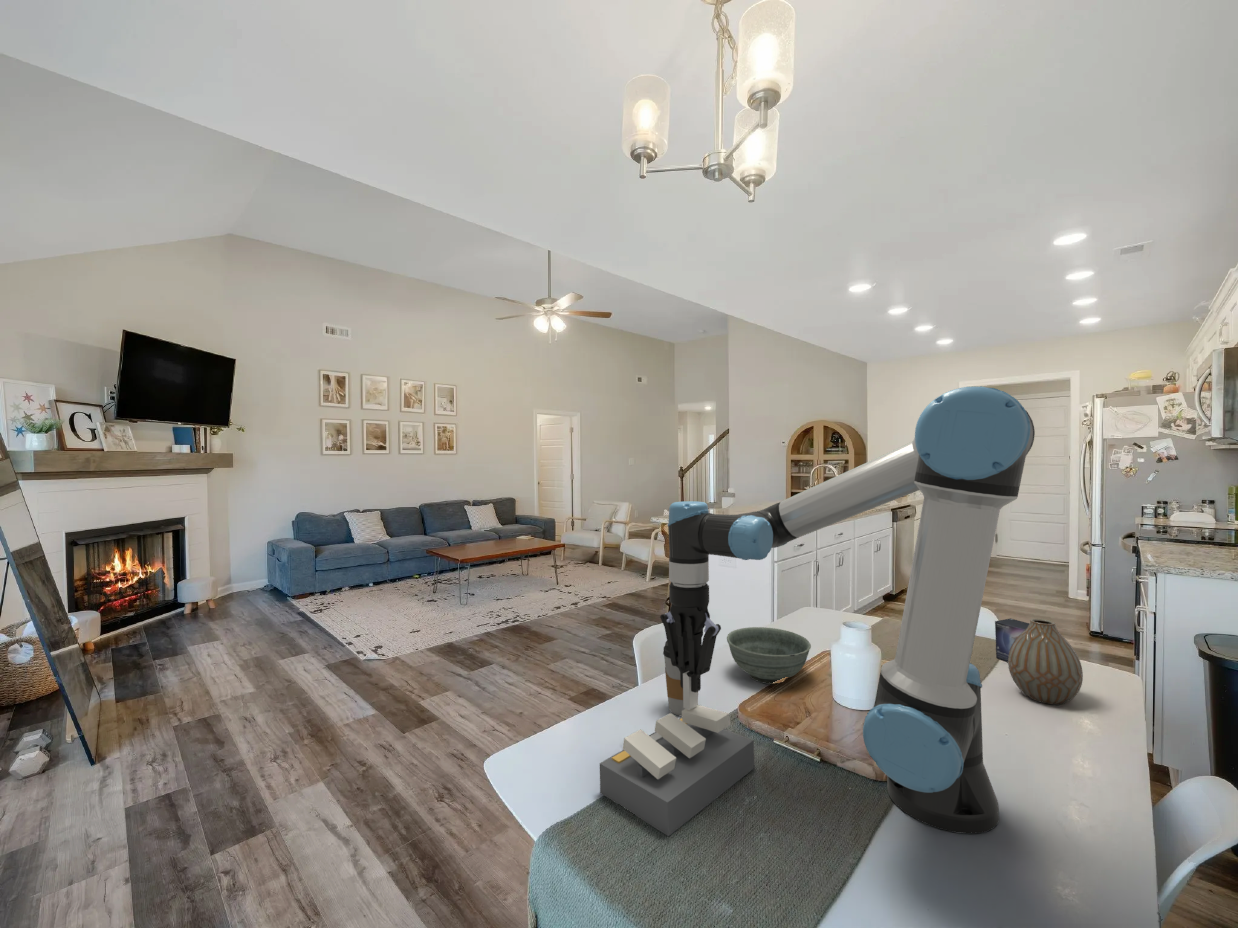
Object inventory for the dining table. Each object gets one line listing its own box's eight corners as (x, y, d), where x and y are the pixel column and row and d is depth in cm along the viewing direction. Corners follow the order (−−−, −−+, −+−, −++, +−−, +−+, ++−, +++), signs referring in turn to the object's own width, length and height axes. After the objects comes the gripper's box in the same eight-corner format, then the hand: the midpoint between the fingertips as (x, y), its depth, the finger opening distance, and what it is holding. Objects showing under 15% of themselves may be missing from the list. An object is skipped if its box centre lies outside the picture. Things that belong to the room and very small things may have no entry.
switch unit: (754, 767, 93) (753, 731, 94) (668, 836, 77) (667, 792, 77) (688, 738, 104) (687, 706, 104) (600, 792, 87) (599, 754, 87)
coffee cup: (700, 720, 112) (699, 650, 112) (662, 717, 113) (660, 648, 113) (702, 702, 120) (700, 637, 120) (666, 700, 121) (665, 636, 122)
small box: (994, 658, 142) (992, 620, 142) (1011, 655, 144) (1010, 617, 144) (1035, 672, 132) (1033, 631, 132) (1053, 669, 134) (1051, 628, 134)
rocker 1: (674, 768, 84) (676, 757, 83) (657, 779, 81) (659, 768, 80) (639, 739, 89) (640, 729, 89) (622, 748, 86) (624, 737, 86)
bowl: (737, 658, 147) (736, 622, 147) (815, 668, 138) (814, 631, 138) (718, 686, 129) (717, 646, 129) (807, 701, 119) (806, 657, 119)
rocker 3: (730, 724, 95) (729, 713, 95) (717, 732, 92) (716, 721, 92) (695, 714, 100) (694, 703, 100) (682, 721, 98) (681, 710, 98)
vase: (1097, 704, 114) (1094, 625, 114) (1060, 716, 109) (1058, 633, 110) (1031, 682, 126) (1029, 610, 127) (996, 692, 122) (993, 617, 122)
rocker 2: (703, 748, 89) (705, 738, 89) (689, 758, 86) (691, 747, 86) (669, 722, 95) (670, 712, 94) (654, 730, 92) (656, 720, 92)
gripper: (729, 584, 97) (730, 710, 97) (675, 574, 106) (676, 689, 106) (705, 592, 91) (706, 725, 91) (650, 580, 101) (652, 702, 101)
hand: (690, 706), depth 99 cm, fingers closed
